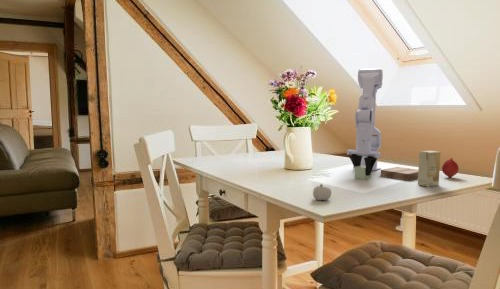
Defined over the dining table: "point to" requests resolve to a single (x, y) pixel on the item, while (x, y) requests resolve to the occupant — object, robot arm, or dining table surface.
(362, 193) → the dining table surface
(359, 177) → the sage cube
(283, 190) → the dining table surface
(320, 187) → the grey pumpkin
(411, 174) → the light brown block
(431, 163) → the skincare box
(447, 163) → the onion
